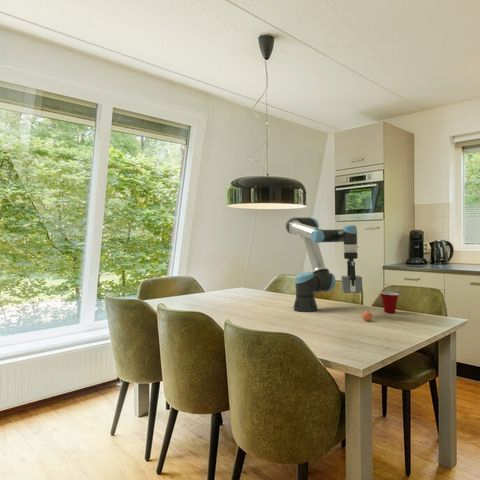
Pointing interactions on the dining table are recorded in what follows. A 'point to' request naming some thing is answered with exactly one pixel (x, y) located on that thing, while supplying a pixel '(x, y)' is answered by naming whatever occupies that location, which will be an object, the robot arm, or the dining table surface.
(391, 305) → the plastic cup
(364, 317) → the ball
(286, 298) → the dining table surface
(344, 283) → the trap cup
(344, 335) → the dining table surface
